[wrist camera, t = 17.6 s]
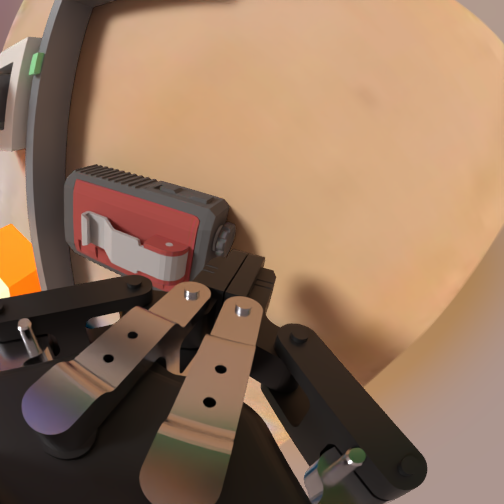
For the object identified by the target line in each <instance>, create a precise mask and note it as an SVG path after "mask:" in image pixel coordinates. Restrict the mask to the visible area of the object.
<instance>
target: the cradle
mask: <svg viewBox="0 0 504 504" xmlns="http://www.w3.org/2000/svg"><path fill="white" fill-rule="evenodd" d="M112 1H115V0H55V1H54V4H53V6H52V9H51V12H50V15H49V18H48V21H47V24H46V27H45V30H44V34H43V37H42V41H41V44H40V48H39V52H38V53H36V54H33V57H32V61H31V66H30V71H29V75H34V76H33V81H32V87H31V94H30V101H29V109H28V119H27V132H26V161H25V165H26V195H27V209H28V219H29V227H30V235H31V242H32V248H33V254H34V259H35V265H36V270H37V274H38V279H39V283H40V287H41V291H45V290H51V289H56V288H62V287H67V286H73V285H74V280H73V274H72V267H71V260H70V252H69V245H68V243H67V242H66V239H65V223H64V184H65V162H66V142H67V129H68V119H69V110H70V102H71V95H72V89H73V83H74V78H75V72H76V68H77V63H78V58H79V54H80V50H81V46H82V42H83V38H84V35H85V31H86V28H87V24H88V21H89V18H90V15H91V12H92V9H93V7H96V6H99V5H102V4H105V3H108V2H112Z"/></svg>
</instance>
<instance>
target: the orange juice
mask: <svg viewBox="0 0 504 504" xmlns="http://www.w3.org/2000/svg"><path fill="white" fill-rule="evenodd" d="M40 291H41V287H40V283H39V279H38V274H37V270H36V265H35V259H34V254H33V248H32V244H31V243H30V242H29V241H28V240H27V239H26V238H25V237H24V236H23V235H22V234H21V233H20V232H19V231H18V230H17V229H16V228H15V227H14V226H13V225H12V224H10V225H8V226H6V227H3V228H1V229H0V299H1V298H7V297H12V296H18V295H23V294H29V293H34V292H40Z"/></svg>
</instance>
